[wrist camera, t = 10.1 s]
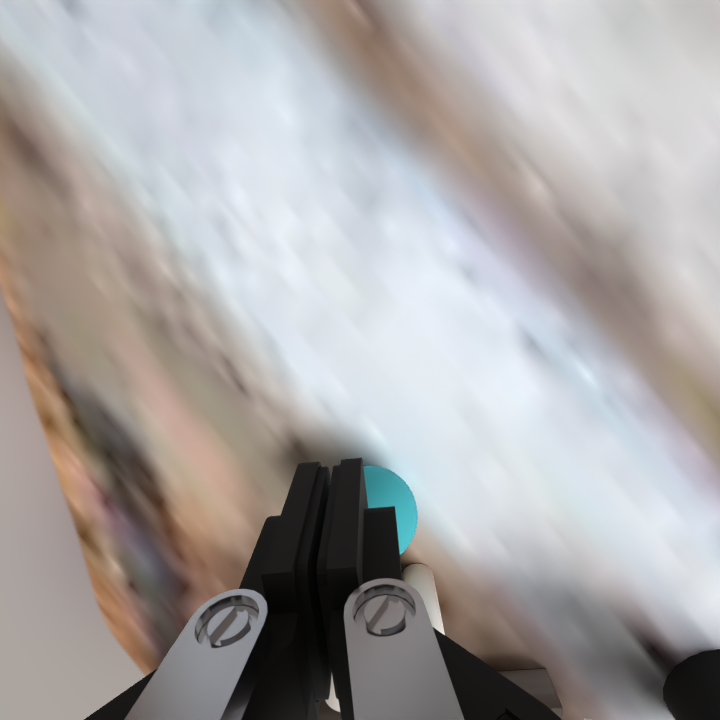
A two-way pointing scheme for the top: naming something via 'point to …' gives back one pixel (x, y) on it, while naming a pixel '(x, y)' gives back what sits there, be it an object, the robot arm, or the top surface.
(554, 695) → the back wall
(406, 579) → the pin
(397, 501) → the ball
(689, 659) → the wine bottle
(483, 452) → the top surface
